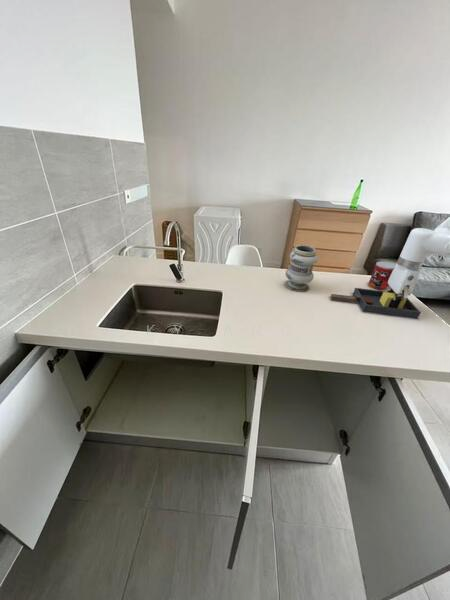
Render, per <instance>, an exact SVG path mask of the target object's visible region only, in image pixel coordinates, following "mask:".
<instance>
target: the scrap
mask: <svg viewBox="0 0 450 600" xmlns="http://www.w3.org/2000/svg"><path fill="white" fill-rule="evenodd" d="M363 299H364V300H365V302H366V303H367V305H372V304H373V302H372V301H371V299H370V298H366V297H363Z"/></svg>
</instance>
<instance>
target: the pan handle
mask: <svg viewBox="0 0 450 600" xmlns="http://www.w3.org/2000/svg"><path fill="white" fill-rule="evenodd" d="M329 298H330V300H331V301H334V302H342V303H347V304H348V303H349V304H358V303H359V301H360V298H361V297H360V296H359V295H355V296H354V295H347V294H338V293H330V297H329Z"/></svg>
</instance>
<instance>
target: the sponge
mask: <svg viewBox="0 0 450 600" xmlns="http://www.w3.org/2000/svg"><path fill="white" fill-rule="evenodd" d="M394 294H395V293H388V292H383V294H382V296H381V299H380V302H381V304H382V305H383V306H384V307H388V306H389V304H390V301H391V299H393V298H394ZM398 296H400V295H397V297H398ZM406 300H407V299H404V300H402V301H401V302H400V304H399V306H398V309H402V308H403V306H404V304H405V302H406Z"/></svg>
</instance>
